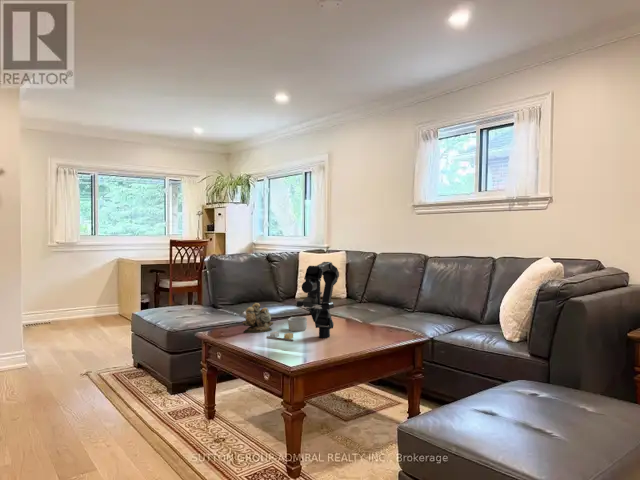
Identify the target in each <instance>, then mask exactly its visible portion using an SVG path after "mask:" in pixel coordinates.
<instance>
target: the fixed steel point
mask: <svg viewBox="0 0 640 480" xmlns="http://www.w3.org/2000/svg"><path fill="white" fill-rule="evenodd" d="M269 336H270V337H278V338H279V337H280V332H279V331H270V333H269Z"/></svg>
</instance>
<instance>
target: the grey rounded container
mask: <svg viewBox="0 0 640 480" xmlns="http://www.w3.org/2000/svg"><path fill="white" fill-rule="evenodd" d="M307 320H308V318H307V317H305V316H290V317H289V318H288V319H287V321H288V322H287V325H288V326H287V327H288V329H289V331H291V332H304V331H305V332H306V329H307V327H308V326H307V325H308V321H307Z"/></svg>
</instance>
